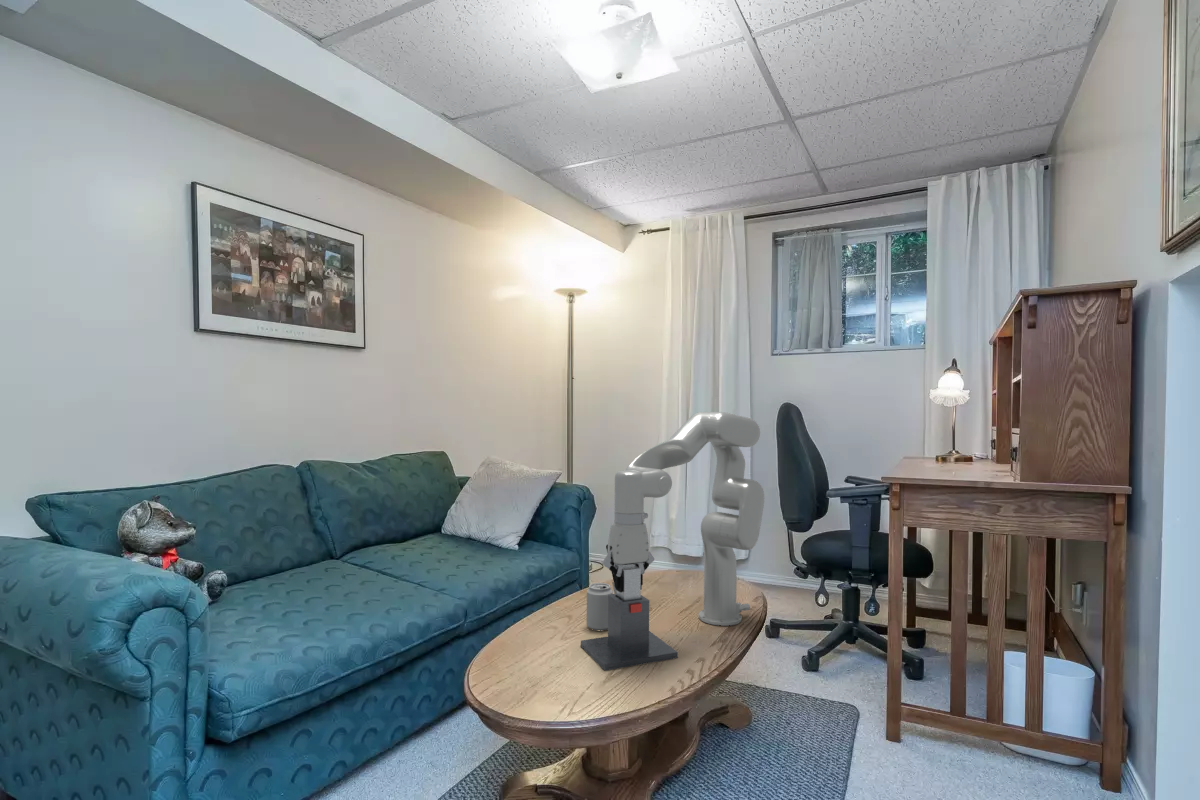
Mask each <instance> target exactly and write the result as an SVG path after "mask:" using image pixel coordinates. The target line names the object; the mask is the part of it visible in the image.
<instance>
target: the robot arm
mask: <svg viewBox="0 0 1200 800" xmlns="http://www.w3.org/2000/svg"><path fill="white" fill-rule="evenodd" d="M760 438H761V428H760V425H759V424H758V422H757V421H756V420H754V418H751V417H746V416H742V415H739V414H734V413H731V412H730V413H728V412H722V411H699V412H696V413H694V414H692V415H691V416H690V417H689V418H688V419H687V420H686V421H685V422H684V423H683V424H682V425H681V427H679V429H677V430H676V432H675V433H674V434H673V435H672V436H671V437H670V438H669V439H667V440H665V441H663V442H661V443H659V444H656V445H655V446H652V447H650V448H648V449H646V450H645V451H644V452H642V453H641V454H639V455H637V456H636V458H635V459H634V460H632V461H631V463H630V464H629V465H628V466H627V467H626V468H625V470H618V471H617V472H616V473H615V475H614V511H613V512H614V515H613V517H614V523H613V522H612V523H611V525H610V529H609V534H608V542H607V545H608V553H606V556H605V558H604V559H603V561H602V563H601V564H602V565H603V566H604V567H605V568H607V569H608V570H609V571H610V573H611V574H612V573H613V574H614V581H613V582H614V586H615V588H616V590H617V591H619V592H623V577H622V576H621V573H622V569H623V565H625V564H634V563H635V566H637V567H639V568H641V590H642V589H643V588H642V586H643V584H644V583H643V580H644V579H643V577H644V576H643V575H644V574H645V572H646V570H647V569H648V568H649V566H650V565H651V564H652V563H653V562H654V561H655V558H654V555H653V554H652V553H651V551H650V545H649V535H648V530H647V529H648V528H647V525H646V523H645V519H648V517H649V514H648V513H647V512H645V511H644V506H645V505H644V504H645V503H644V502H645V501H644V499H645V498H654V499H656V498H657V499H659V498H663V497H665V496H667V495H668V494H669V492H670V491H671V490H672V488H673V487H672V486H673V479H672V476H671V475H670V474H669V473H668V472H667V471H666V469H670V468H673V467H674V468H675V467H677V466H681V465H684V464H687V463H689V462H691V461H692V460H693V459H694V458H695V457H696V456H697V454H699V453H700V452H701V450H702V449H703V448H704V447H705V446H706V445H707V444H708V443H710V444H711V446H712V447H713V450H714V452H715V454H716V467H715V474H714V477H713V484H712V492H711V501H712V502H713V504H714V505H715V506H716V507H720V508H721V509H722V508H723V509H728V510H731V511H733V510H734V511H738V514H733V513H728V512H722V511H711V512H708V513H707V514H705V515H704V516H703V518H702V520H701V522H700V534H701V540H702V545H703V570H704V571H703V609H702V610H700V611H699V612H698V619H699V620H700V621H702V622H704V623H706V624H709V625H712V626H713V625H714V626H719V625H721V626H723V627H725V626H729V625H730V626H735V625H738V624H739V623H741V622H742V617H743V616H742V615H741V614H740V613H741V612H742V611H743V612H744V611H749V610H750V609H751V606H750V604H749V603H742V602H737V556H736V553H735V551H734V549H736V550H741V551H749V550H752V549H754V547H755V546H756V544H758V543H757V542H758V541H759V537H760V533H761V532H760V531H761V526H762V520H763V512H764V509H765V491H764V488H763V486H762V485H761V483H759V482H758V481H757V480H755V479H750V478H744V476H745V470H746V469H745V468H746V460H745V455H744V454H743V452H742V450H741V447H742V448H751V447H753V446H755V445H756V444H757V443H758V442H759V440H760ZM664 469H665V470H664ZM611 561H614V566H612V565H611V564H610V562H611Z"/></svg>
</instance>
